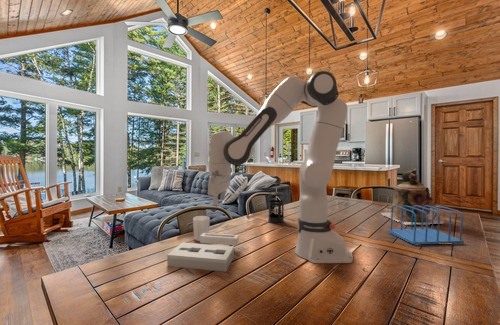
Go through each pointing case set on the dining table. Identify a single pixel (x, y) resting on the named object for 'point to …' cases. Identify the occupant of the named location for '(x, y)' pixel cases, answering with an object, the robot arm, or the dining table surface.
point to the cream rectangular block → (219, 239)
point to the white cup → (200, 226)
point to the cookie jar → (411, 200)
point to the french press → (276, 217)
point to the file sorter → (426, 234)
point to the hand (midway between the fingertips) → (219, 202)
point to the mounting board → (201, 256)
